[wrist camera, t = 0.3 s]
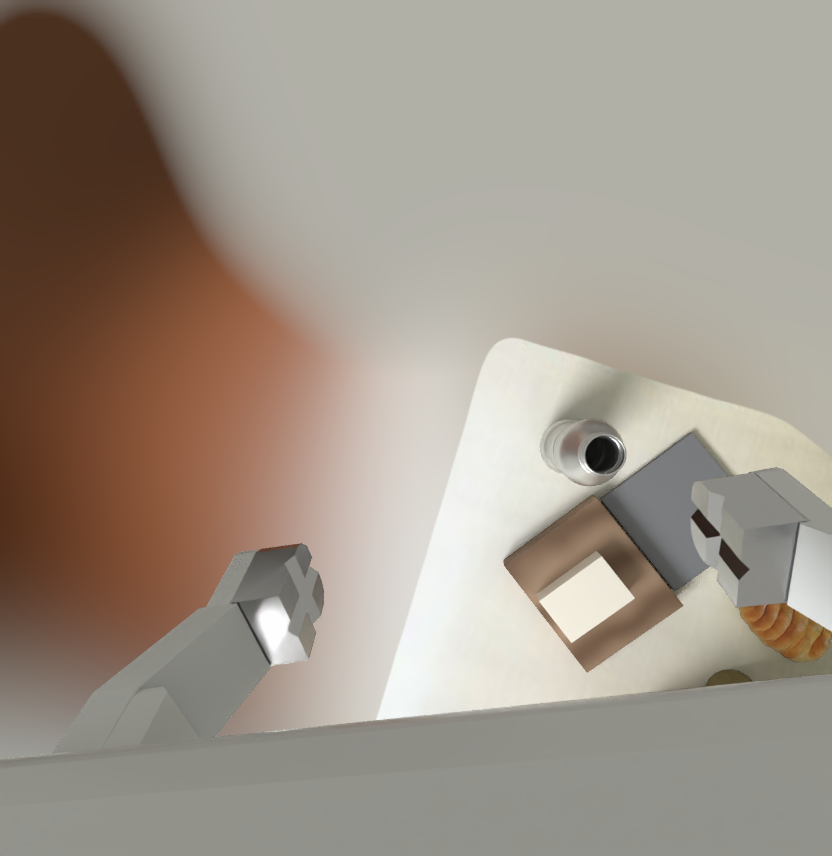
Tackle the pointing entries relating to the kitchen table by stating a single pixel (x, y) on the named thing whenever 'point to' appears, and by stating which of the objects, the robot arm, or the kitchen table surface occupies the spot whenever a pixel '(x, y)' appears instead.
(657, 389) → the kitchen table surface
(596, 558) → the tile
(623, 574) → the stand
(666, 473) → the mat
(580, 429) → the plastic bottle
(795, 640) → the pastry
